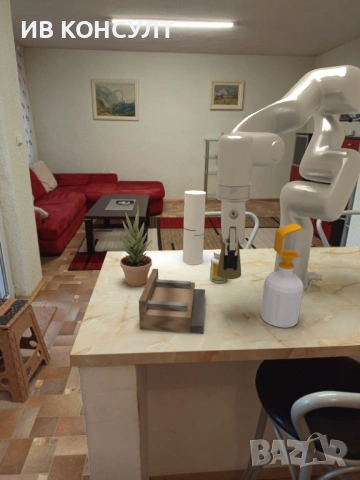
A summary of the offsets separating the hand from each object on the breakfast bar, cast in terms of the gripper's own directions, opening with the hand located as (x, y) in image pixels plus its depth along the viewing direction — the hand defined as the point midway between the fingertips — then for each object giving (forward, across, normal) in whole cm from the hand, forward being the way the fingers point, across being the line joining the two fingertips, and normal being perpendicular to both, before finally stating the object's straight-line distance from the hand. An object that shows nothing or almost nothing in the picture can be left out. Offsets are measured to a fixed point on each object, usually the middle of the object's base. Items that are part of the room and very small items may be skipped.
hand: (229, 264), depth 78 cm
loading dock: (+13, -1, +13) cm, 19 cm away
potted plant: (+13, +14, +27) cm, 33 cm away
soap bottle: (+14, -1, -13) cm, 19 cm away
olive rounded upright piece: (+3, 0, 0) cm, 3 cm away
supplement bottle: (+14, +19, +2) cm, 24 cm away
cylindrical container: (+14, +33, +11) cm, 38 cm away
